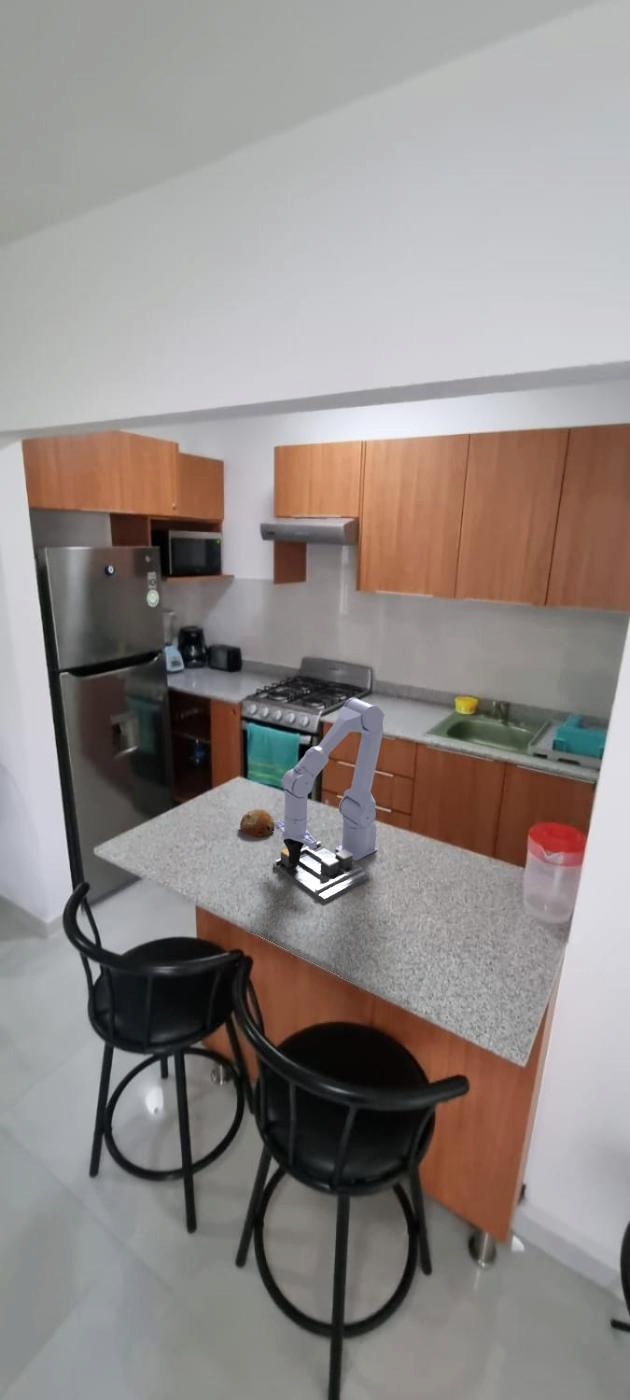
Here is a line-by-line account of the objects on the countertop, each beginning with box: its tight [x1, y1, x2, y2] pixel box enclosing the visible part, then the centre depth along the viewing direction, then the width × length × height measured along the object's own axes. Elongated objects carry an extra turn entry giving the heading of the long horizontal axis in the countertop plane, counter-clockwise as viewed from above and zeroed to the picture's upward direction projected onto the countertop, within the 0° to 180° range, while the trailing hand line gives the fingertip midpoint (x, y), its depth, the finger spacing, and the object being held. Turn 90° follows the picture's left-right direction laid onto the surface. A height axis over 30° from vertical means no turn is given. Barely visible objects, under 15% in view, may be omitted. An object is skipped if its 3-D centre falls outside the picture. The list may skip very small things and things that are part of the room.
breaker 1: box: [321, 856, 339, 877], centre depth 145 cm, size 3×3×4 cm
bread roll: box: [239, 808, 275, 838], centre depth 168 cm, size 10×10×8 cm
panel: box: [272, 841, 370, 904], centre depth 147 cm, size 16×20×2 cm
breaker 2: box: [335, 849, 353, 870], centre depth 148 cm, size 3×3×4 cm
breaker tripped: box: [280, 848, 298, 868], centre depth 148 cm, size 3×3×4 cm
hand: (294, 862), depth 147 cm, fingers closed, pressing on breaker tripped
